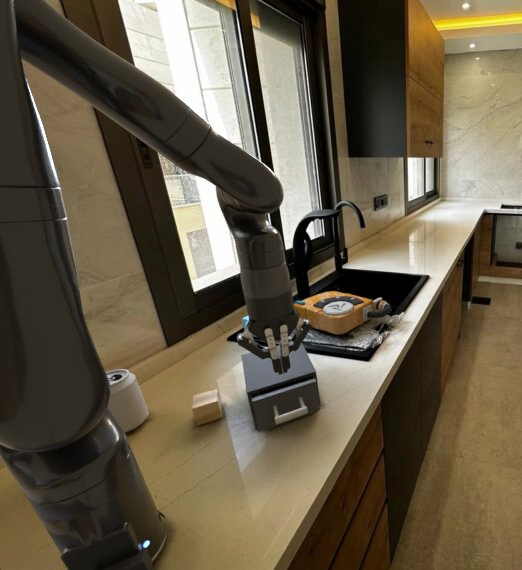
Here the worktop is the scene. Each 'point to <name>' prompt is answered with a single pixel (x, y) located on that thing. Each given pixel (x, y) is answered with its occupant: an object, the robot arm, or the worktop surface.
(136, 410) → the can
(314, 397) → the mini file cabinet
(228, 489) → the worktop surface
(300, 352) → the gray drawer box
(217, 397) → the block
